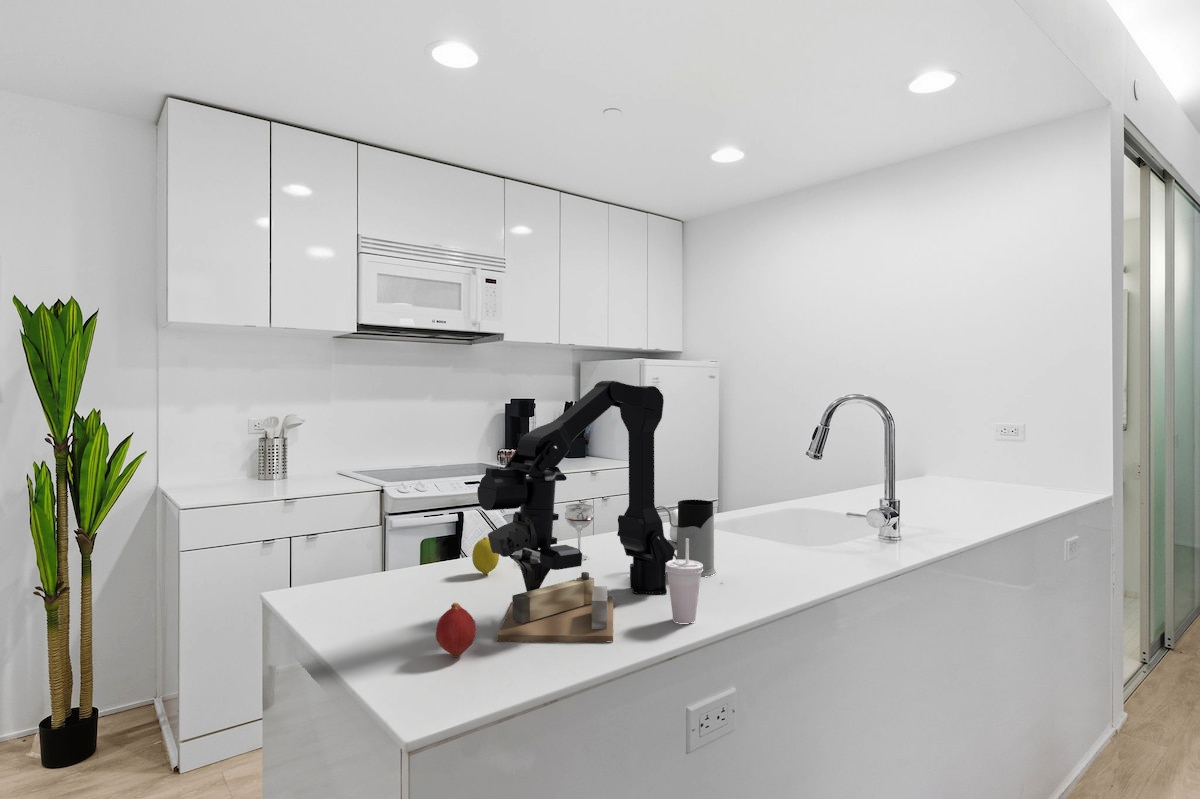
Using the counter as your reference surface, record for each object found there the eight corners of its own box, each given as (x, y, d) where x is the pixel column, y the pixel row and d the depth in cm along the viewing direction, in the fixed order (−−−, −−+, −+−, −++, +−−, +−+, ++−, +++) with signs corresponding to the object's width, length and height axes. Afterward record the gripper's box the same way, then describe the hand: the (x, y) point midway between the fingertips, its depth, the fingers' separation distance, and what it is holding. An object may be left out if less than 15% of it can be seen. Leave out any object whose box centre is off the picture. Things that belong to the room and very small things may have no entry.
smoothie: (693, 630, 111) (693, 544, 111) (658, 623, 114) (658, 539, 114) (709, 618, 116) (709, 537, 116) (675, 612, 120) (675, 532, 120)
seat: (613, 602, 126) (613, 567, 125) (613, 642, 106) (613, 601, 105) (515, 601, 126) (515, 566, 126) (497, 641, 106) (497, 600, 106)
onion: (439, 649, 103) (439, 596, 103) (477, 648, 103) (477, 595, 103) (433, 664, 97) (432, 608, 97) (474, 663, 97) (473, 607, 97)
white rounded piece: (702, 551, 165) (702, 514, 165) (657, 545, 171) (657, 510, 171) (718, 542, 175) (719, 507, 175) (676, 537, 181) (676, 503, 181)
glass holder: (710, 579, 141) (711, 506, 140) (645, 572, 146) (645, 502, 146) (719, 569, 149) (720, 500, 148) (657, 563, 154) (657, 496, 154)
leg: (585, 597, 124) (585, 575, 124) (597, 601, 122) (597, 579, 122) (511, 619, 112) (511, 595, 112) (523, 624, 110) (523, 599, 110)
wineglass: (576, 552, 163) (576, 503, 163) (599, 557, 159) (599, 505, 159) (558, 558, 158) (558, 506, 158) (581, 563, 154) (581, 509, 154)
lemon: (493, 579, 141) (493, 540, 141) (468, 577, 142) (468, 539, 142) (502, 572, 146) (502, 535, 146) (478, 570, 147) (478, 533, 147)
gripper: (467, 501, 117) (461, 591, 117) (532, 520, 104) (525, 622, 104) (519, 497, 125) (514, 582, 125) (587, 515, 111) (580, 610, 111)
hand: (531, 598), depth 116 cm, fingers closed
